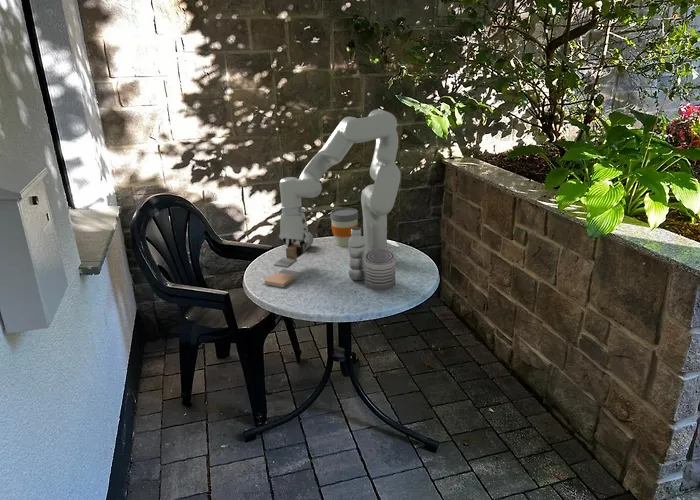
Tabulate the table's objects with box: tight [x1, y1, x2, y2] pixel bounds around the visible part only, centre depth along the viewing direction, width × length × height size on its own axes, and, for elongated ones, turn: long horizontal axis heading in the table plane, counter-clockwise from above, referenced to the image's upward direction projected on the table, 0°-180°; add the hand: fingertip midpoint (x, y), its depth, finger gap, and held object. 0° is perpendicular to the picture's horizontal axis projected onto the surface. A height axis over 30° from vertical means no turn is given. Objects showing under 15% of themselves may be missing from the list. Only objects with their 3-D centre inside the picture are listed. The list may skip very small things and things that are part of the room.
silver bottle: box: [347, 227, 365, 281], centre depth 183 cm, size 6×7×20 cm
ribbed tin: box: [364, 249, 397, 293], centre depth 179 cm, size 11×11×12 cm
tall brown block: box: [273, 241, 306, 269], centre depth 190 cm, size 16×6×4 cm, turn 156°
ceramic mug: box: [292, 231, 314, 251], centre depth 218 cm, size 11×8×8 cm
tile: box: [264, 272, 294, 288], centre depth 185 cm, size 8×2×8 cm
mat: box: [261, 268, 306, 290], centre depth 188 cm, size 10×15×1 cm
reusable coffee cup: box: [329, 207, 359, 248], centre depth 220 cm, size 13×13×15 cm
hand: (295, 254), depth 194 cm, fingers closed on tall brown block, 3 cm apart
